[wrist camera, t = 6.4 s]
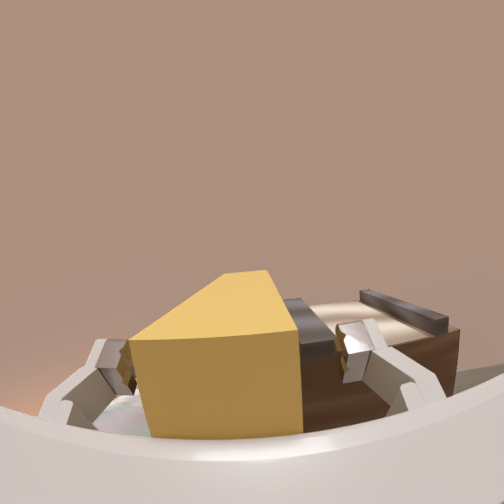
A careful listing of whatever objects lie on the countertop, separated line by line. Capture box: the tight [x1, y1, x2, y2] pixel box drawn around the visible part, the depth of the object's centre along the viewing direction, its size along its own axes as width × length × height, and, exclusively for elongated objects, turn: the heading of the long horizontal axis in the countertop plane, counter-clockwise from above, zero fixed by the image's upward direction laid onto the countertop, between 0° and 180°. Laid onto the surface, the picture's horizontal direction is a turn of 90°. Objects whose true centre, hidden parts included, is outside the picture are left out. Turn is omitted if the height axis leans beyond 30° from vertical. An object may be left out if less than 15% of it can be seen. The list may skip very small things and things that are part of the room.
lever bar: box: [129, 270, 303, 440], centre depth 18 cm, size 22×4×4 cm, turn 179°
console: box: [283, 289, 460, 433], centre depth 22 cm, size 14×19×27 cm
